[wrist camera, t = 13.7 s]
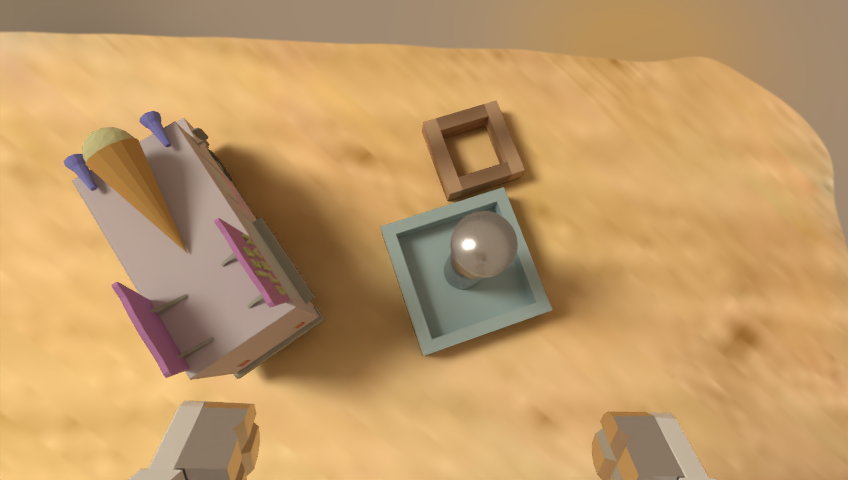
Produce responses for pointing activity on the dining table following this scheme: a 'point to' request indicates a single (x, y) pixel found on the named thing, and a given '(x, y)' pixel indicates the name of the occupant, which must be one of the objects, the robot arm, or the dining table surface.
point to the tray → (450, 307)
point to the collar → (462, 123)
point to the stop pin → (479, 249)
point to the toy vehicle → (191, 252)
